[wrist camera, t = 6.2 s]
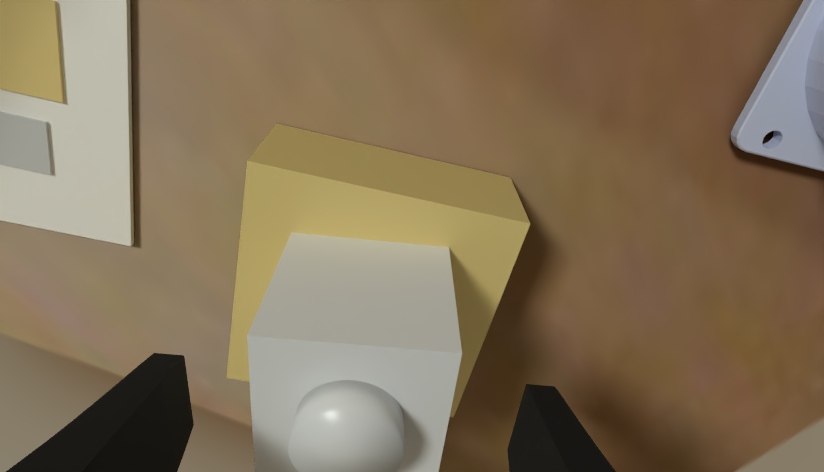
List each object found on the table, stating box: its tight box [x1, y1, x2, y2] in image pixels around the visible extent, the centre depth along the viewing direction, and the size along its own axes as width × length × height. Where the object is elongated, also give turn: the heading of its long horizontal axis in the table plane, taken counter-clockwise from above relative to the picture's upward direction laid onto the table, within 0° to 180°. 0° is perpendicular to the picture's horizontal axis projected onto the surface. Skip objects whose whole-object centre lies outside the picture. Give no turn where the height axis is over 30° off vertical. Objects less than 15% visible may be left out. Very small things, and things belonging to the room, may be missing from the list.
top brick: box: [247, 232, 462, 472], centre depth 12 cm, size 4×4×5 cm
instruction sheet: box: [0, 0, 134, 246], centre depth 14 cm, size 6×8×1 cm
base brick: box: [227, 124, 530, 417], centre depth 16 cm, size 7×7×3 cm
